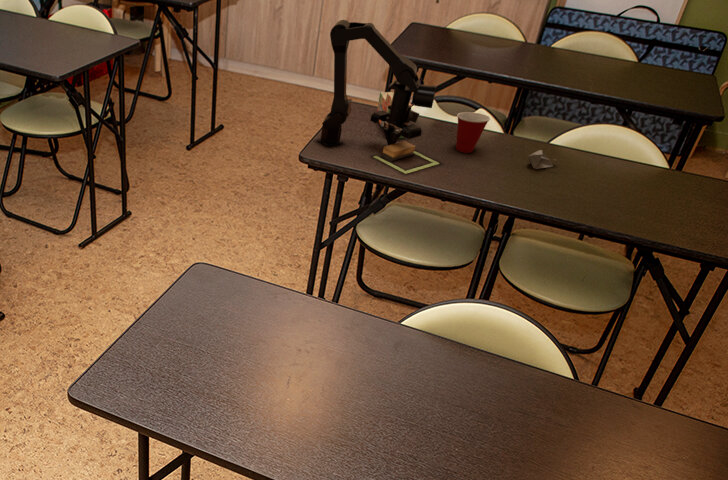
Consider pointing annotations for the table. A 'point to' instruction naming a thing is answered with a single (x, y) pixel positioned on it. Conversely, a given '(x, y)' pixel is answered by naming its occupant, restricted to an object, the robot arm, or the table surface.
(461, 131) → the plastic cup
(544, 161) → the paper boat
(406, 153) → the chalkboard eraser
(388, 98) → the tan printed boxy piece
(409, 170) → the tape box
